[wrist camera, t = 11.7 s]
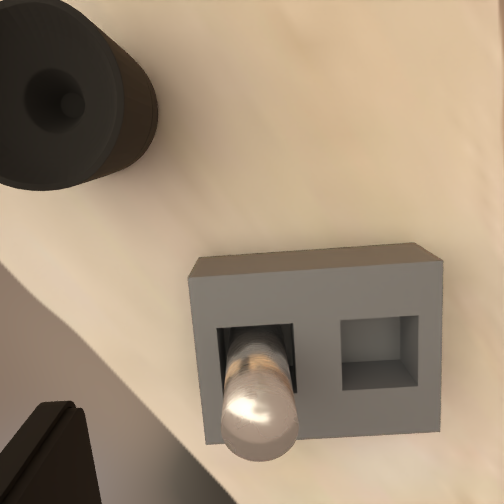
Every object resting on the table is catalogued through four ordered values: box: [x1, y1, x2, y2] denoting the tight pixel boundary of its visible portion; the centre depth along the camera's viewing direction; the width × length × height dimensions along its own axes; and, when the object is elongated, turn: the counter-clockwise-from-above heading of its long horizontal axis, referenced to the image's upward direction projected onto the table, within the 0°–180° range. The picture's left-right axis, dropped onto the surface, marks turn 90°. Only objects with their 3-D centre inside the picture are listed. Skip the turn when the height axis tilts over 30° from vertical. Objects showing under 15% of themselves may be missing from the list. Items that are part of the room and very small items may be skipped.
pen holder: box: [0, 0, 158, 191], centre depth 28 cm, size 9×9×10 cm
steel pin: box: [221, 324, 299, 462], centre depth 29 cm, size 4×4×11 cm
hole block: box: [188, 243, 443, 445], centre depth 33 cm, size 12×16×6 cm
